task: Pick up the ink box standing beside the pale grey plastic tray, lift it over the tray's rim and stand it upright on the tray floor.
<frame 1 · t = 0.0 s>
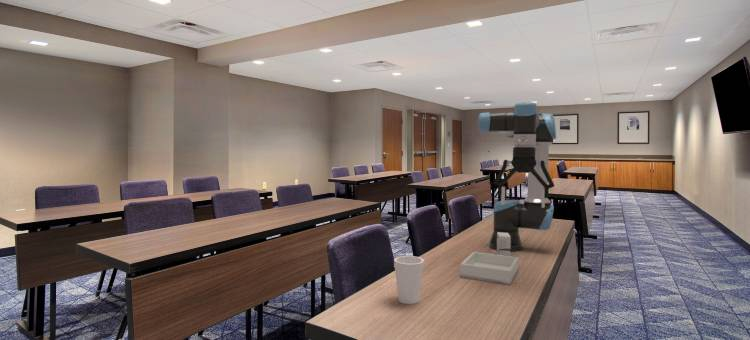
hand: (522, 205, 141), 28 cm above the table, tool pointing down, fingers open, 13 cm apart
ink box: (503, 261, 169), on the table
tray: (490, 273, 152), on the table
foam cup: (408, 300, 125), on the table
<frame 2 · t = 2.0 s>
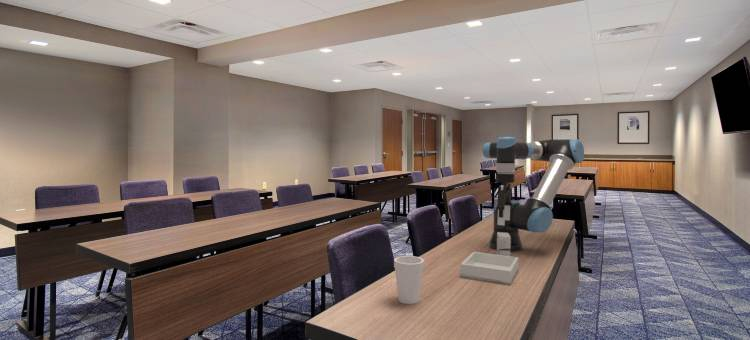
hand: (503, 222, 168), 17 cm above the table, tool pointing down, fingers open, 13 cm apart
nothing on the table moved.
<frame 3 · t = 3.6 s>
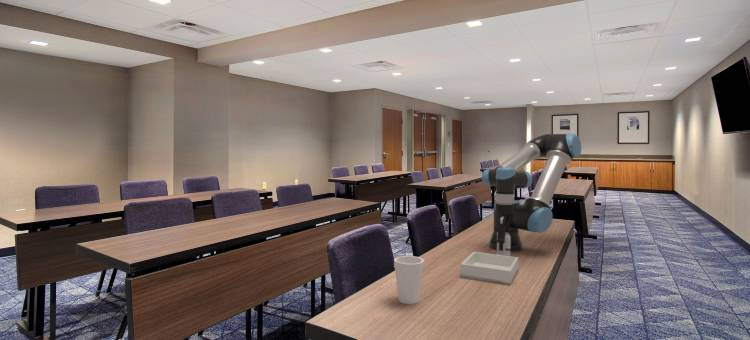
hand: (503, 254, 169), 3 cm above the table, tool pointing down, fingers closed on ink box, 9 cm apart
ink box: (503, 261, 170), on the table, touching gripper
everything else where it was.
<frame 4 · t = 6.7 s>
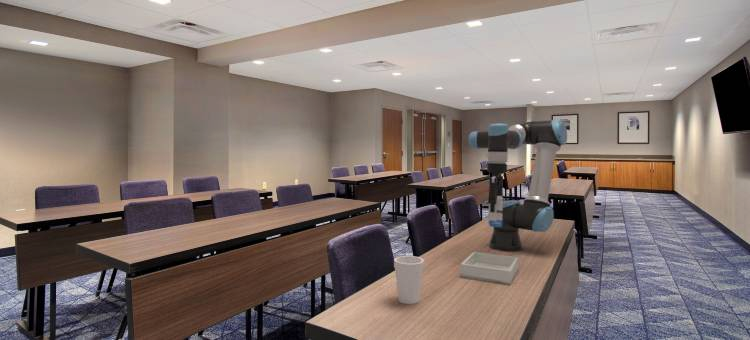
hand: (495, 218, 157), 20 cm above the table, tool pointing down, fingers closed on ink box, 9 cm apart
ink box: (494, 225, 157), point 18 cm above the table, touching gripper
everything else where it was.
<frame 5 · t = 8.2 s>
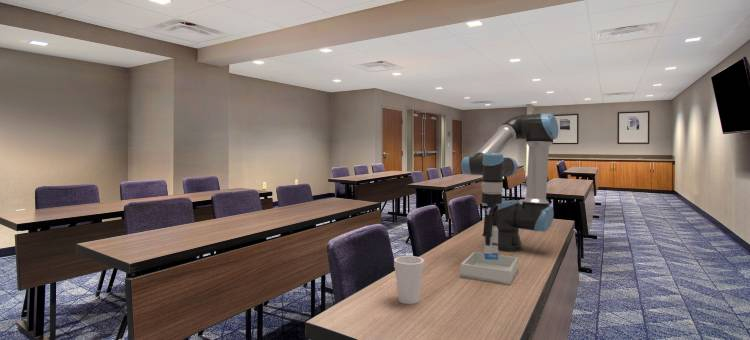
hand: (490, 250, 152), 9 cm above the table, tool pointing down, fingers closed on ink box, 9 cm apart
ink box: (490, 257, 152), point 6 cm above the table, touching gripper
everything else where it was.
when the fingers open (5 cm above the table, at t = 9.6 s): ink box drops 1 cm, resting on tray.
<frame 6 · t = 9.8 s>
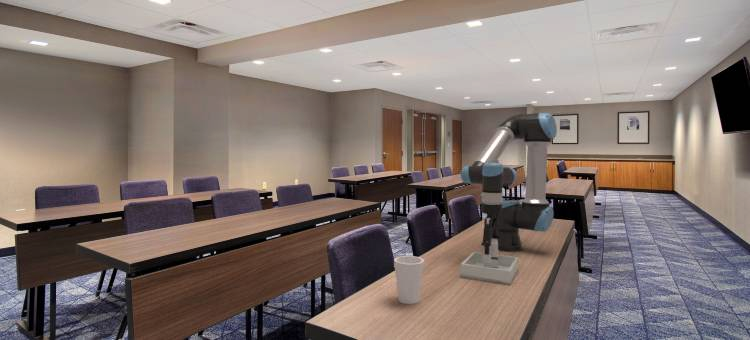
hand: (490, 258, 152), 6 cm above the table, tool pointing down, fingers open, 12 cm apart
ink box: (490, 271, 153), point 1 cm above the table, touching tray
everything else where it was.
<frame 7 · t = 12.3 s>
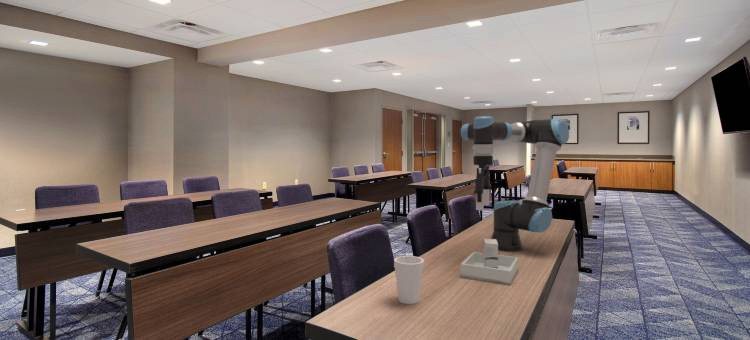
hand: (482, 207, 159), 25 cm above the table, tool pointing down, fingers open, 13 cm apart
nothing on the table moved.
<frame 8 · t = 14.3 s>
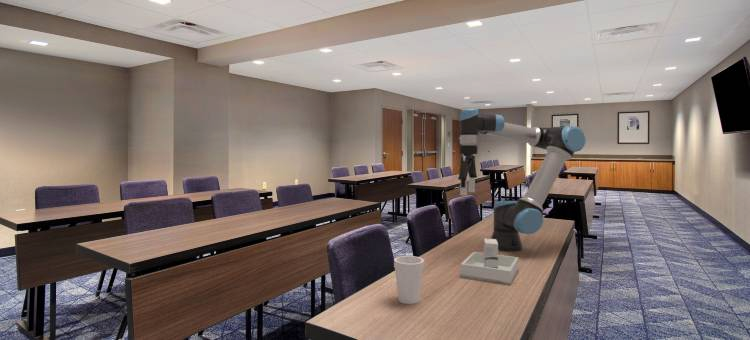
hand: (467, 193, 171), 29 cm above the table, tool pointing down, fingers open, 13 cm apart
nothing on the table moved.
at the end: ink box inside the target area on the tray (0.2 cm from its centre), point 0.8 cm above the tray's base; ink box tilted 0°; the gripper is holding nothing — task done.
